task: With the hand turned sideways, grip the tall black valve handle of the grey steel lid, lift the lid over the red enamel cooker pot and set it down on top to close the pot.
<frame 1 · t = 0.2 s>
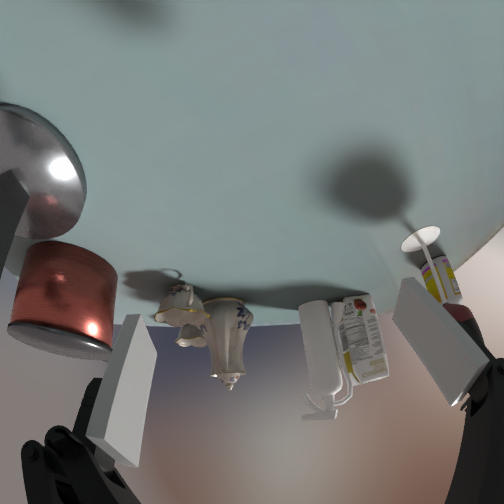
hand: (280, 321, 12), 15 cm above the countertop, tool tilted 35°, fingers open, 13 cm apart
pot: (70, 270, 34), on the countertop
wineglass: (420, 238, 37), on the countertop
chinaware: (207, 304, 51), on the countertop
fire extinguisher: (315, 303, 56), on the countertop
juice carton: (351, 299, 58), on the countertop
lid: (15, 176, 18), on the countertop
supplement bottle: (433, 262, 46), on the countertop
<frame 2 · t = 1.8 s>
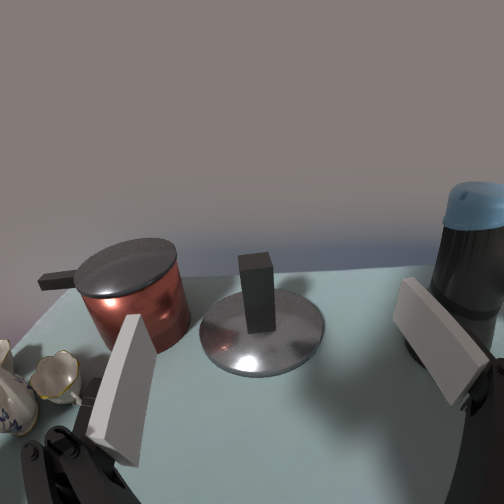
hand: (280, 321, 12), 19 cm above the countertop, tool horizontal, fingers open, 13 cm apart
pot: (145, 323, 42), on the countertop
chinaware: (28, 402, 24), on the countertop
lid: (261, 331, 39), on the countertop
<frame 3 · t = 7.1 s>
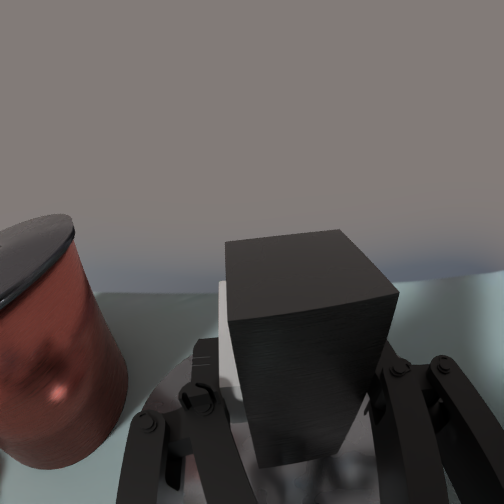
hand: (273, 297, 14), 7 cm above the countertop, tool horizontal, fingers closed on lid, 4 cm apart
pot: (48, 388, 15), on the countertop
lid: (290, 442, 13), on the countertop, touching gripper
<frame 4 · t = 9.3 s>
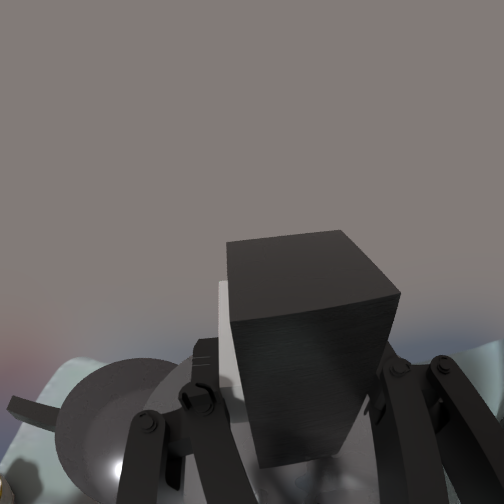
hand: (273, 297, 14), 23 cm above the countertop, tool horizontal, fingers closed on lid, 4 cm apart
pot: (171, 466, 23), on the countertop
lid: (291, 442, 13), point 16 cm above the countertop, touching gripper
when the fingers open (21 cm above the countertop, at t = 11.5 s): lid drops 1 cm, resting on pot.
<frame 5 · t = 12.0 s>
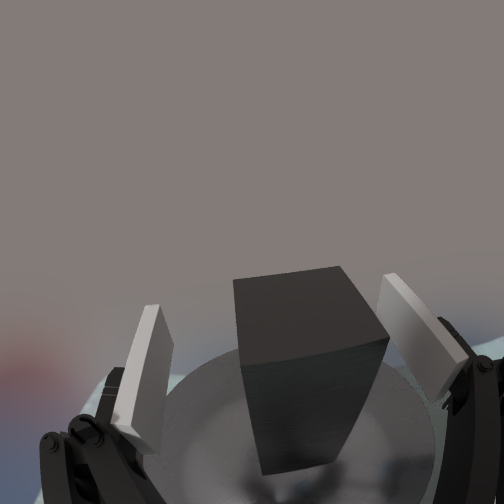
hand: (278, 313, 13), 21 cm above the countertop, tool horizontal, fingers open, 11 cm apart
lid: (291, 450, 13), point 12 cm above the countertop, touching pot
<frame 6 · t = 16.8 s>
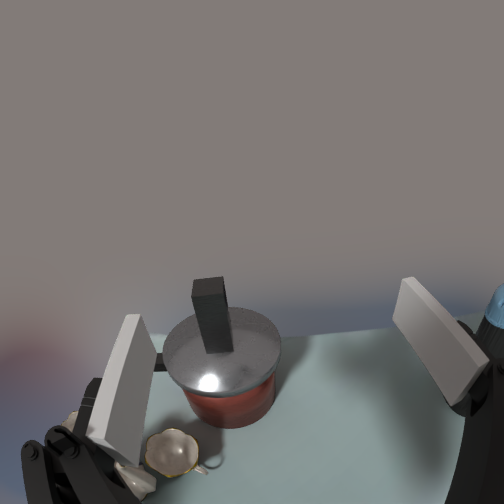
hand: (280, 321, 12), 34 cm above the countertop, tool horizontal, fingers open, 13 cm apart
pot: (231, 392, 45), on the countertop
chinaware: (129, 470, 29), on the countertop
lid: (221, 350, 39), point 12 cm above the countertop, touching pot
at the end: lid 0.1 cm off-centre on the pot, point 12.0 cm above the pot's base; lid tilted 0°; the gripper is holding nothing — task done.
